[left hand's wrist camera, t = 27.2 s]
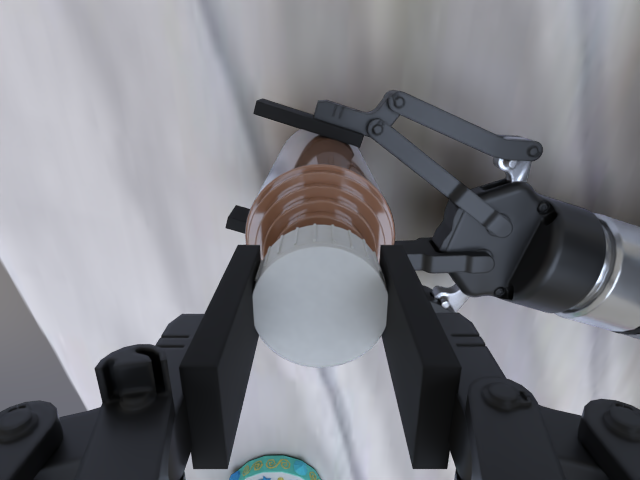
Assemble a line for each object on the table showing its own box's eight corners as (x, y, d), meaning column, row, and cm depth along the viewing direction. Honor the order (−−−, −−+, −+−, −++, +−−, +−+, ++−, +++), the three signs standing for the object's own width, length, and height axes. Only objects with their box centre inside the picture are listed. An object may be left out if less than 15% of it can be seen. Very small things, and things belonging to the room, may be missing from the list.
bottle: (296, 218, 35) (265, 401, 15) (265, 141, 33) (182, 240, 13) (372, 191, 34) (444, 348, 14) (346, 111, 32) (388, 167, 12)
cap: (356, 347, 16) (361, 384, 14) (243, 315, 15) (233, 348, 13) (401, 245, 14) (414, 270, 12) (278, 205, 14) (271, 225, 12)
